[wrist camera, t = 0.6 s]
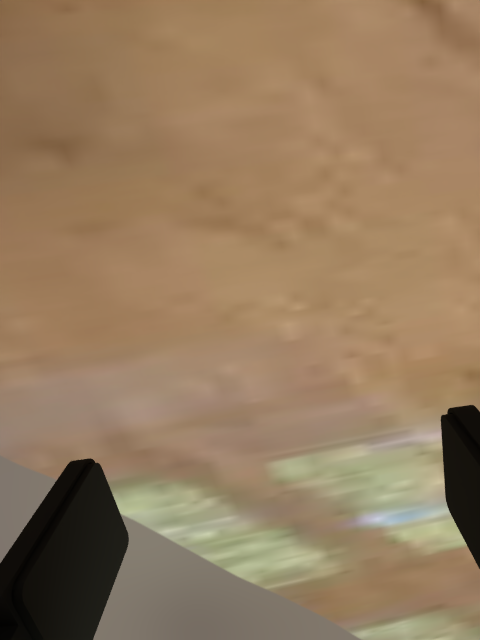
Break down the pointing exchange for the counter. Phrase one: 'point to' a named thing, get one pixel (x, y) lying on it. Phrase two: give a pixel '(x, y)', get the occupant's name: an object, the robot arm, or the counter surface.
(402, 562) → the counter surface
